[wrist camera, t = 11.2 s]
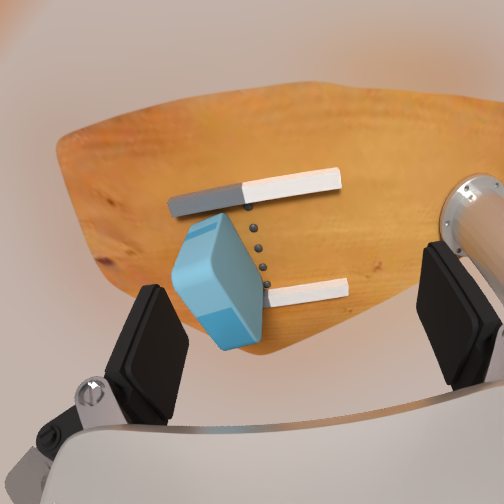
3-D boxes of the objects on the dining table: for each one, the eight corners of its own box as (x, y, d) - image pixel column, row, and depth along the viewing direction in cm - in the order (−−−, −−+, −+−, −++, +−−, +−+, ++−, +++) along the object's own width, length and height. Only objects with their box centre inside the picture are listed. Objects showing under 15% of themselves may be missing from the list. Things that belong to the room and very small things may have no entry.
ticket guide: (337, 167, 35) (340, 171, 33) (346, 288, 44) (348, 295, 43) (170, 197, 38) (167, 202, 36) (211, 307, 47) (209, 314, 46)
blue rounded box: (191, 220, 39) (166, 280, 29) (223, 207, 38) (207, 265, 28) (234, 290, 45) (225, 357, 35) (263, 280, 44) (262, 348, 34)
